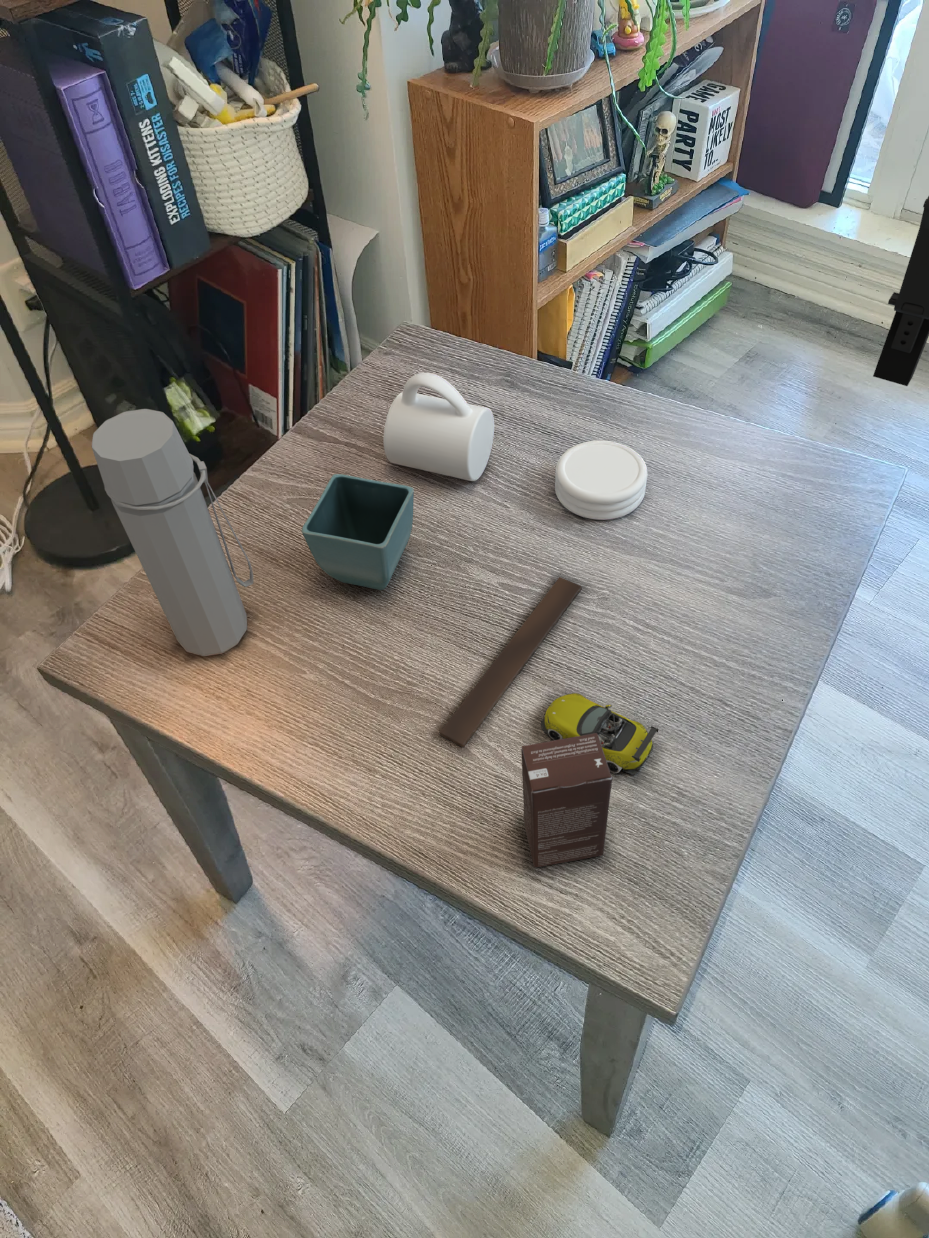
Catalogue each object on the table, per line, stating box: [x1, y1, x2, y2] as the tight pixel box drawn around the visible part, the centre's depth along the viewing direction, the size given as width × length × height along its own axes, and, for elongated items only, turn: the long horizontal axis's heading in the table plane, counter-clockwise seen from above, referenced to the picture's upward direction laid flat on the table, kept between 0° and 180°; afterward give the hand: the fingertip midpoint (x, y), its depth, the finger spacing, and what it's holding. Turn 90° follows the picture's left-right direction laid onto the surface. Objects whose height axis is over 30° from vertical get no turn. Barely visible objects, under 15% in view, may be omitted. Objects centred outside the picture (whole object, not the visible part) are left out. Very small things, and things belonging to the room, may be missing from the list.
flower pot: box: [301, 473, 415, 591], centre depth 91 cm, size 9×9×9 cm
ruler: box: [438, 576, 583, 748], centre depth 86 cm, size 3×22×1 cm, turn 147°
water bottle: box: [91, 408, 254, 657], centre depth 81 cm, size 9×8×25 cm
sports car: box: [540, 692, 660, 776], centre depth 79 cm, size 5×10×3 cm, turn 56°
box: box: [521, 733, 613, 868], centre depth 69 cm, size 6×4×12 cm
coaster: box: [554, 439, 649, 521], centre depth 99 cm, size 10×10×4 cm
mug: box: [382, 372, 495, 482], centre depth 100 cm, size 8×10×12 cm
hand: (892, 376), depth 72 cm, fingers closed
